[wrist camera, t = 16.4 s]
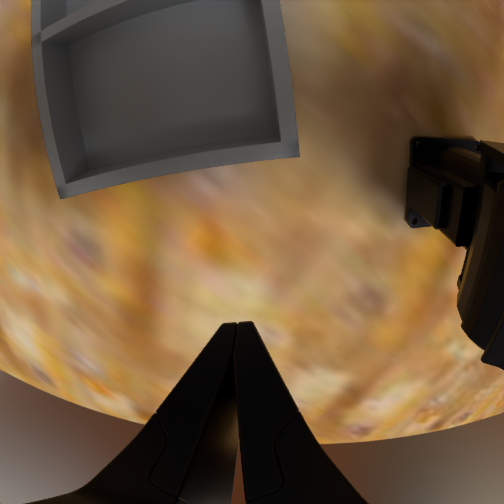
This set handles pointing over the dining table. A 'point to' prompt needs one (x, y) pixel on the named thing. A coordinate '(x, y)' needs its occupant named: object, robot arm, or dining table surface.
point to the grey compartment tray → (159, 87)
